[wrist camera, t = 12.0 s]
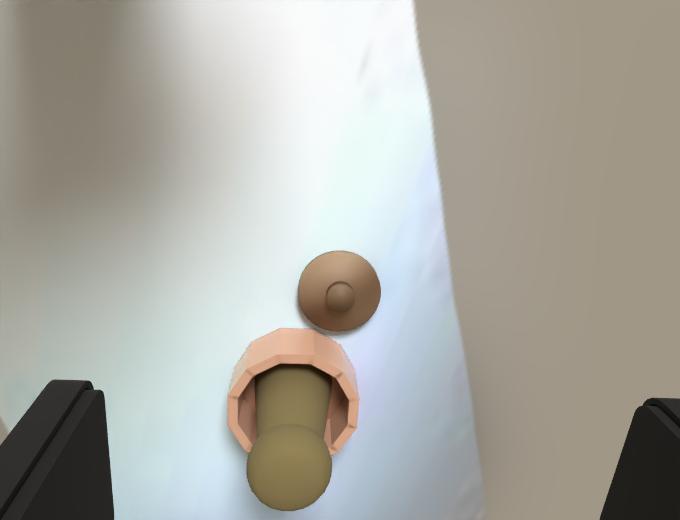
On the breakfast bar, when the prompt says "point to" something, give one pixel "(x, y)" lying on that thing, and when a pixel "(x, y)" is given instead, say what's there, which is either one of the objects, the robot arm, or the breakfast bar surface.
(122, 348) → the breakfast bar surface
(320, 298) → the lid
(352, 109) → the breakfast bar surface
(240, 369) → the pink faceted round bowl
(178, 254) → the breakfast bar surface
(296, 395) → the cork
